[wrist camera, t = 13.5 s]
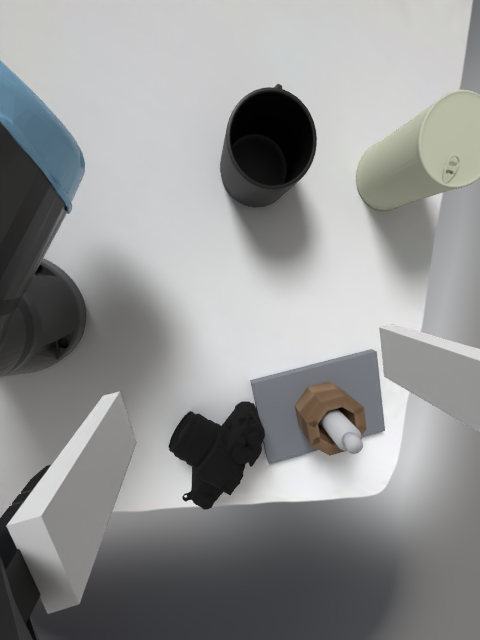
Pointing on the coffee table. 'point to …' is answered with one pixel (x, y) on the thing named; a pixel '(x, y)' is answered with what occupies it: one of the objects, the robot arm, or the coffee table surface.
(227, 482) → the film camera
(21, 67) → the coffee table surface
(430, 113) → the can
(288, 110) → the mug
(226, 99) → the coffee table surface
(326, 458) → the coffee table surface
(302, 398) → the collar
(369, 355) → the post board
